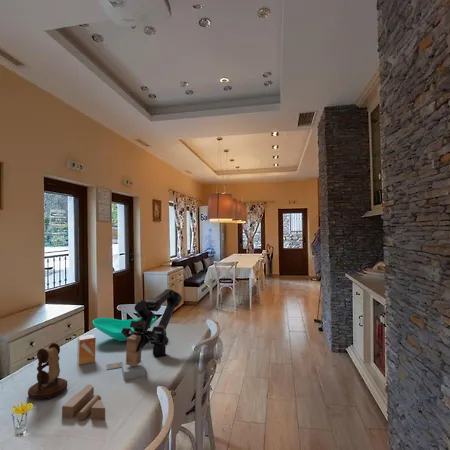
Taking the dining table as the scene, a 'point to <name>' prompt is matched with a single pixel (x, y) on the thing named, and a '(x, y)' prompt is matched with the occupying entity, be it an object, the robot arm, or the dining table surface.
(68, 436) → the dining table surface
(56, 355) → the scroll
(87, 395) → the wooden block set
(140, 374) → the slate block
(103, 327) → the table top decor
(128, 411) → the dining table surface
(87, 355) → the small box
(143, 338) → the robot arm
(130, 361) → the walnut column
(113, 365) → the card
